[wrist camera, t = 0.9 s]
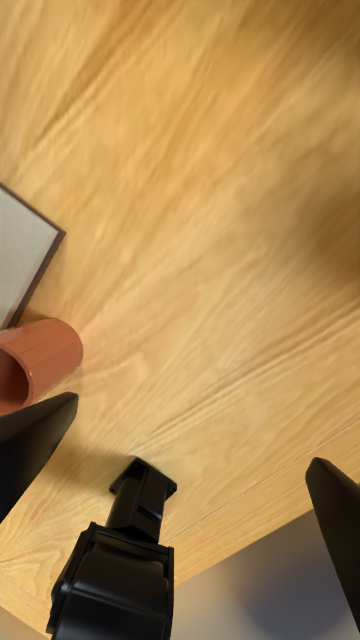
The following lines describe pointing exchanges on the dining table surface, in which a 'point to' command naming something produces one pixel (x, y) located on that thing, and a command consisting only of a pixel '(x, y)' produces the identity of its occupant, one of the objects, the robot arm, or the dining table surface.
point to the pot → (35, 361)
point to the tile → (22, 253)
